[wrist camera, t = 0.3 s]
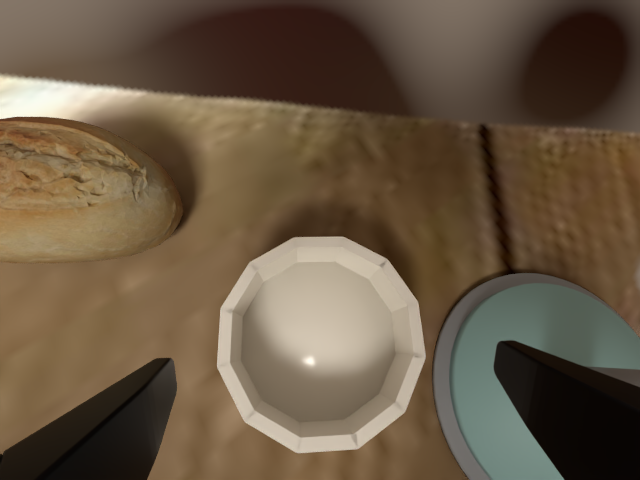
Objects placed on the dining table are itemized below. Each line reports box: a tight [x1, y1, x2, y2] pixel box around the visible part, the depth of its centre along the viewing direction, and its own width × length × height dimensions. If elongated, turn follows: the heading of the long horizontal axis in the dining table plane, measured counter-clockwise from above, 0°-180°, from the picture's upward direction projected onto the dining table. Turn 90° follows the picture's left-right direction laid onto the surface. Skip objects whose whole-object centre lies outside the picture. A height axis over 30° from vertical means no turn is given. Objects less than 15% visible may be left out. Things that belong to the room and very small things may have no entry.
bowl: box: [217, 237, 426, 453], centre depth 21 cm, size 12×12×4 cm
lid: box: [449, 283, 640, 480], centre depth 18 cm, size 15×15×9 cm
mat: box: [432, 273, 637, 480], centre depth 22 cm, size 17×17×1 cm
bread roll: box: [0, 117, 184, 263], centre depth 21 cm, size 10×15×8 cm, turn 95°
